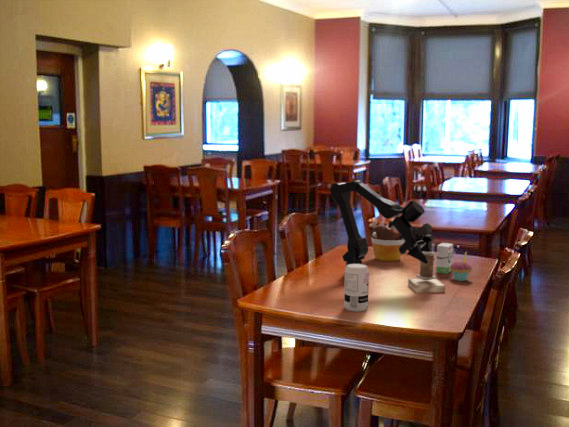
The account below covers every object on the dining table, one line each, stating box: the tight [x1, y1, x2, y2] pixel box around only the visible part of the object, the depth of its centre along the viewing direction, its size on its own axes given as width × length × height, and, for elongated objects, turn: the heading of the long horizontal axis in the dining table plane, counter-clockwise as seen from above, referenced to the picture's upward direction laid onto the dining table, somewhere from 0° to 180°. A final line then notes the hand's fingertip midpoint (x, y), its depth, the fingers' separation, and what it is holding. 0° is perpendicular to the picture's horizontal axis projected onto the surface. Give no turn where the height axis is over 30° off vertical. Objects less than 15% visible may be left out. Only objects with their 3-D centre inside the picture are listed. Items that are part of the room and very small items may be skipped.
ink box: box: [435, 242, 454, 275], centre depth 272 cm, size 9×5×12 cm, turn 150°
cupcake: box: [450, 250, 473, 282], centre depth 258 cm, size 9×8×12 cm
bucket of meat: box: [368, 220, 412, 263], centre depth 294 cm, size 20×16×20 cm
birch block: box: [407, 278, 446, 293], centre depth 244 cm, size 11×11×3 cm
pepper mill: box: [416, 251, 437, 280], centre depth 243 cm, size 5×5×10 cm
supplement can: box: [343, 263, 370, 313], centre depth 216 cm, size 8×8×15 cm
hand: (430, 261), depth 242 cm, fingers closed on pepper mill, 5 cm apart
